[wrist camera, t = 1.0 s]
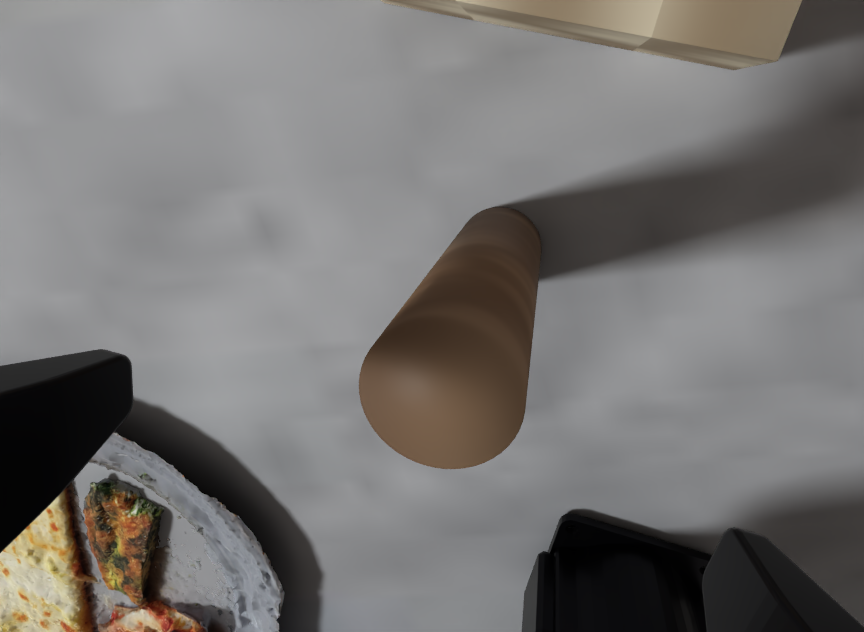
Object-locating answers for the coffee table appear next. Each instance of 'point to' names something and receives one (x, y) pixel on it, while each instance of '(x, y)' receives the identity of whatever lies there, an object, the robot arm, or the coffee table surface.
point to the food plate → (133, 560)
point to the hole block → (645, 24)
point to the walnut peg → (460, 348)
